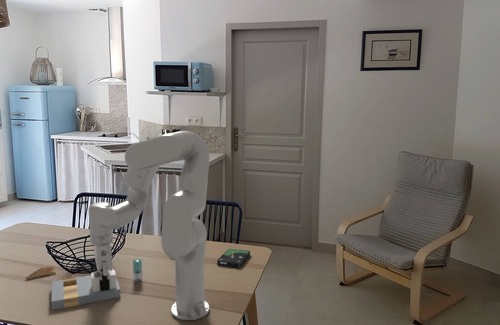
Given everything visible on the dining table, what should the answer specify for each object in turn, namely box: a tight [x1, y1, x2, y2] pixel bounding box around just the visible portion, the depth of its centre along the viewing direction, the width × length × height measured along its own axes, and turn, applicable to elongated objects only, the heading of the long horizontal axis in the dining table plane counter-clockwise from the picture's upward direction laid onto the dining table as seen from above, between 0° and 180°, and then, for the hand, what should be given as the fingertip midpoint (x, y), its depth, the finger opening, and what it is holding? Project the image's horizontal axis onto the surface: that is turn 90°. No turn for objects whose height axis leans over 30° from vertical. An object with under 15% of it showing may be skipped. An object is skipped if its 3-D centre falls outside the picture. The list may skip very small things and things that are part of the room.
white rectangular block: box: [90, 268, 117, 292], centre depth 147 cm, size 5×8×5 cm, turn 115°
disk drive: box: [216, 248, 251, 269], centre depth 180 cm, size 10×3×15 cm
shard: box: [25, 265, 57, 280], centre depth 164 cm, size 11×8×2 cm
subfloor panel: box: [50, 274, 121, 311], centre depth 148 cm, size 16×22×3 cm
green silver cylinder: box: [132, 258, 143, 283], centre depth 159 cm, size 3×3×8 cm
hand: (104, 285), depth 147 cm, fingers closed on white rectangular block, 5 cm apart
